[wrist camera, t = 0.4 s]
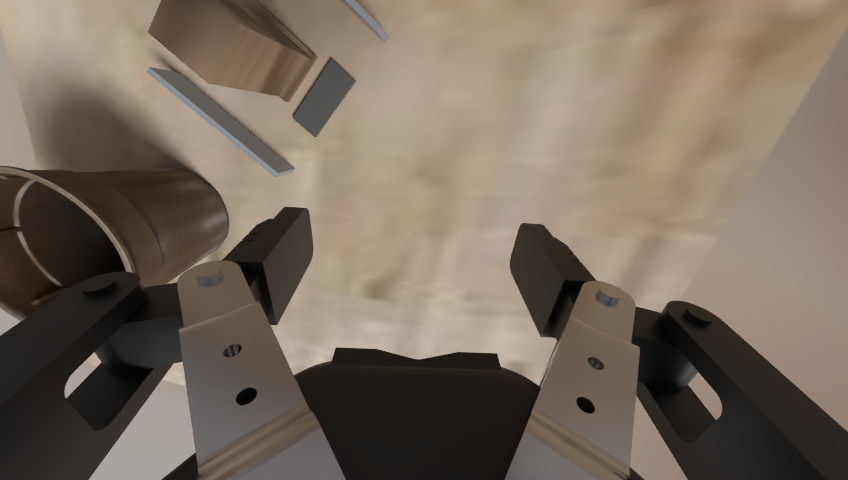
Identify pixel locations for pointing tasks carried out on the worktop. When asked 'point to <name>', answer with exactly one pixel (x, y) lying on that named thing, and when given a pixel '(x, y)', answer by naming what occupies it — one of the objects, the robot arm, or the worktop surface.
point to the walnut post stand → (233, 44)
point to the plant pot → (100, 229)
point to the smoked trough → (309, 115)
